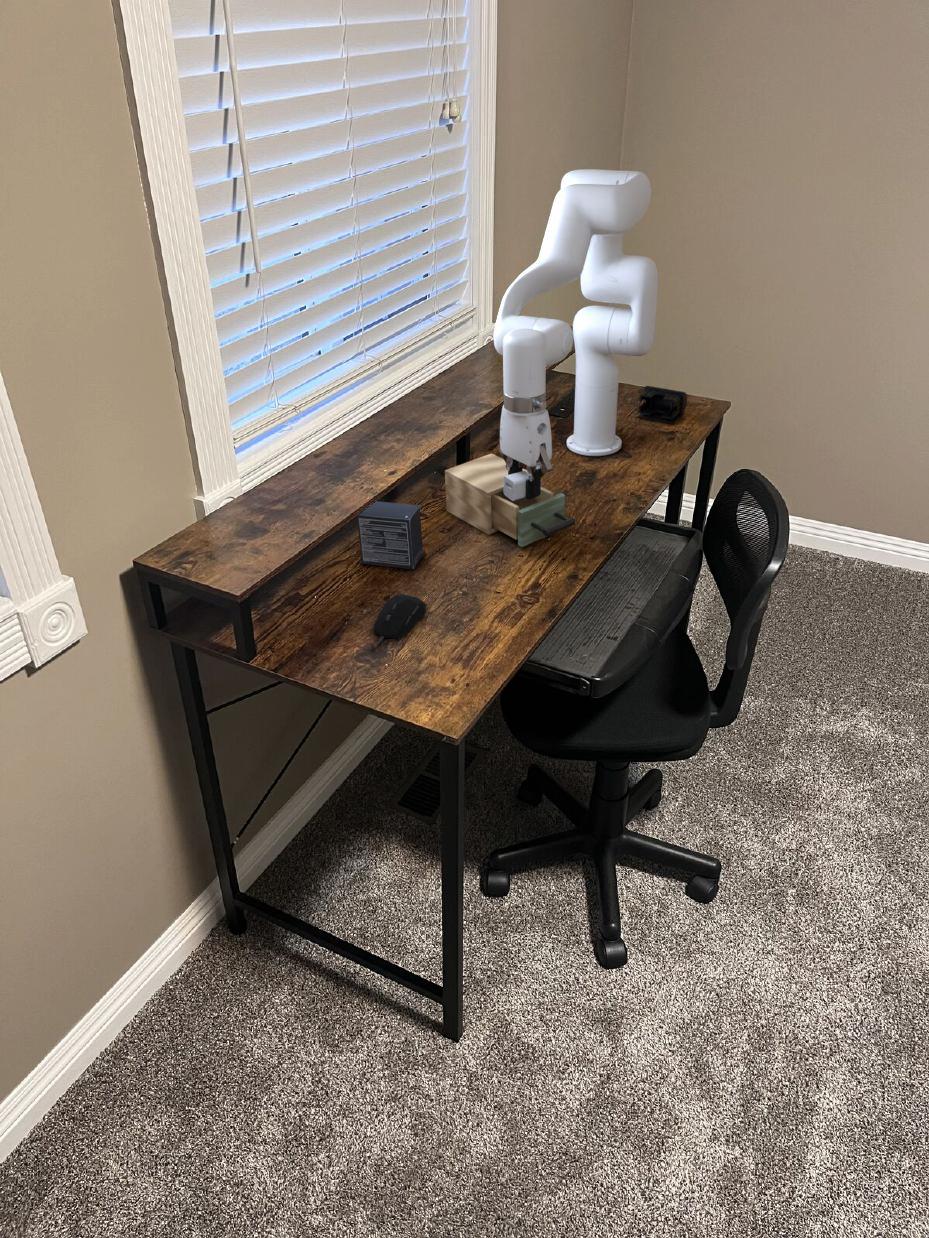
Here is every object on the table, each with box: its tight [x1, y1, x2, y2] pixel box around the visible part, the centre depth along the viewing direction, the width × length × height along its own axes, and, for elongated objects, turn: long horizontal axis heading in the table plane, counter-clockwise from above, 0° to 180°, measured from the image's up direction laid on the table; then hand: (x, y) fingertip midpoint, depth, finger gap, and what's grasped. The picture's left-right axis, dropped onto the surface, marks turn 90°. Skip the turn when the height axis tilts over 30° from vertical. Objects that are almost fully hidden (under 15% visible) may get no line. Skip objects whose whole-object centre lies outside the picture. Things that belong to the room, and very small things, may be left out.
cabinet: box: [444, 453, 527, 536], centre depth 185 cm, size 14×12×9 cm
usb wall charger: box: [503, 471, 544, 501], centre depth 175 cm, size 4×7×4 cm, turn 119°
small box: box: [356, 500, 424, 570], centre depth 171 cm, size 11×6×10 cm, turn 74°
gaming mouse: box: [372, 593, 427, 650], centre depth 154 cm, size 6×15×4 cm, turn 155°
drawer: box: [491, 486, 576, 548], centre depth 177 cm, size 17×11×7 cm, turn 38°
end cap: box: [638, 385, 688, 425], centre depth 225 cm, size 10×7×7 cm
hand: (524, 491), depth 176 cm, fingers closed on usb wall charger, 4 cm apart
